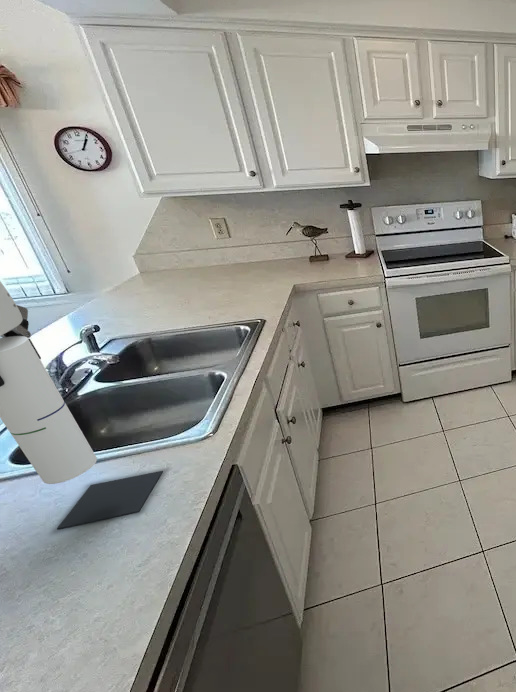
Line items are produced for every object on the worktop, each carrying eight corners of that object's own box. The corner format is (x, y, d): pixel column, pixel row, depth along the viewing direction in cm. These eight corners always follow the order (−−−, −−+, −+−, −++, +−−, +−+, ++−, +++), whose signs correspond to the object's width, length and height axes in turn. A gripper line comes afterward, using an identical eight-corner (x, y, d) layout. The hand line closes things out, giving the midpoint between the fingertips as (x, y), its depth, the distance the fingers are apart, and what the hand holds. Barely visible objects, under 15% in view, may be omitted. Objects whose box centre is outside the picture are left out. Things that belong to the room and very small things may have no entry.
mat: (57, 529, 77) (56, 528, 77) (91, 485, 86) (90, 484, 86) (139, 511, 80) (138, 510, 80) (163, 471, 90) (162, 470, 89)
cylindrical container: (104, 461, 75) (36, 340, 64) (53, 489, 69) (-31, 362, 59) (85, 450, 78) (16, 332, 67) (34, 476, 72) (-50, 352, 61)
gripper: (-38, 252, 64) (22, 351, 72) (-163, 289, 49) (-71, 410, 57) (22, 248, 66) (74, 345, 74) (-81, 282, 51) (-3, 400, 58)
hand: (10, 373), depth 65 cm, fingers closed on cylindrical container, 7 cm apart
